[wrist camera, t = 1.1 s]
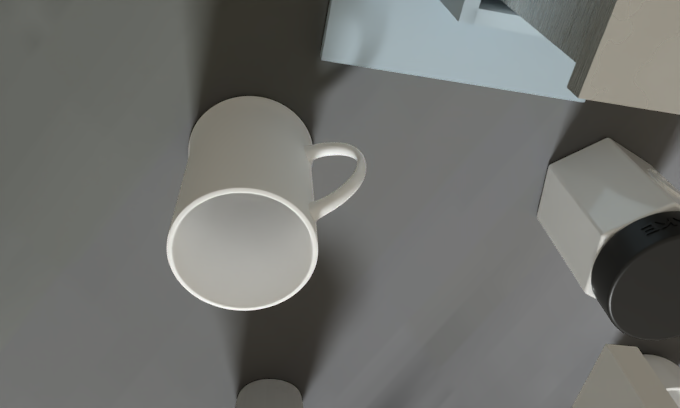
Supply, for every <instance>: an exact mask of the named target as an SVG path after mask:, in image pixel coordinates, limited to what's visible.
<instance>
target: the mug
mask: <svg viewBox="0 0 680 408" xmlns="http://www.w3.org/2000/svg"><path fill="white" fill-rule="evenodd" d="M188 155H189V158H188V162H187V166H186V169H185V173H184V177H183V181H182V184H181V188H180V192H179V196H178V199H177V203H176V207H175V211H174V214H173V218H172V222H171V226H170V229H169V233H168V238H167V257H168V261H169V264H170V267H171V269H172V271H173V273H174V275H175V277H176V278H177V280H178V281H179V282H180V283H181V284H182V286H183V287H184V288H185V289H186V290H188V291H189V292H190V293H191V294H193V295H194V296H196V297H197V298H199V299H200V300H202V301H204V302H206V303H209V304H211V305H214V306H217V307H220V308H225V309H230V310H241V311H247V310H258V309H263V308H267V307H271V306H274V305H277V304H279V303H281V302H283V301H285V300H287V299H289V298H290V297H292V296H293V295H295V294H296V293H297V292H298V291H299V290H300V289H301V288H302V287H303V286H304V285H305V284H306V283H307V281H308V280H309V279H310V277H311V275H312V273H313V271H314V269H315V266H316V263H317V258H318V237H317V226H316V221H317V220H318V219H319V218H321V217H322V216H324V215H326V214H328V213H329V212H331V211H333V210H334V209H336V208H337V207H339V206H340V205H341V204H343V203H344V202H345V201H347V200H348V199H349V198H350V197H351V196H352V195H353V194H354V193H355V192H356V191H357V189H358V188H359V187H360V185H361V184H362V182H363V180H364V178H365V175H366V161H365V158H364V156H363V154H362V153H361V151H360V150H359V149H357V148H356V147H354V146H353V145H350V144H347V143H341V142H327V143H320V144H314V145H313V144H312V140H311V137H310V134H309V132H308V130H307V128H306V126H305V125H304V123H303V122H302V120H301V119H300V118H299V117H298V116H297V115H296V114H295V113H294V112H293V111H291V110H290V109H289V108H287V107H286V106H284V105H282V104H281V103H279V102H276V101H274V100H271V99H268V98H264V97H258V96H241V97H235V98H231V99H227V100H225V101H222V102H220V103H218V104H216V105H215V106H213V107H212V108H210V109H209V110H208V111H206V112H205V113H204V114H203V115H202V116H201V118H200V119H199V120H198V122H197V123H196V125H195V126H194V128H193V131H192V133H191V136H190V140H189V146H188ZM329 155H345V156H349V157H352V158H354V159H355V160H357V167H356V169H355V171H354V173H353V174H352V176H351V177H350V178H349V179H348V180H347V181H346V182H345V183H344V184H343V185H342V186H341V187H339V188H338V189H337V190H335V191H334V192H332V193H331V194H329V195H327V196H326V197H324V198H322V199H319V200H316V201H314V193H313V182H312V170H311V168H312V164H313V160H314V159H317V158H319V157H323V156H329Z"/></svg>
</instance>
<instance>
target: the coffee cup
mask: <svg viewBox="0 0 680 408" xmlns="http://www.w3.org/2000/svg"><path fill="white" fill-rule="evenodd" d="M235 408H303V403H302V397H301V394H300V392H299V390H298V389H297V388H296V387H295V386H293V385H292V384H290V383H288V382H286V381H282V380H277V379H262V380H257V381H254V382H251V383H249V384H248V385H246V386H245V387H244V388H243V389H242V390H241V391H240V393H239V395H238V398H237V401H236V406H235Z"/></svg>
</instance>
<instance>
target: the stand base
mask: <svg viewBox="0 0 680 408" xmlns="http://www.w3.org/2000/svg"><path fill="white" fill-rule="evenodd" d="M320 56H321V60H323V61H329V62H336V63H342V64H348V65H354V66H360V67H367V68H373V69H379V70H385V71H391V72H398V73H404V74H410V75H416V76H422V77H429V78H435V79H441V80H447V81H453V82H460V83H466V84H472V85H478V86H485V87H491V88H497V89H503V90H509V91H516V92H522V93H528V94H534V95H540V96H547V97H553V98H559V99H565V100H571V101H578V102H584V103H585V100H586V99H580V98H577V97H576V96H575V95H574V94H573V93H572V92H571V91H570V90H569V89H568V88H567V85H568V82H569V80H570V77H571V74H572V72H573V69H574V67H575V64H576V62H575V61H573V60H572V59H571V58H570V57H569V56H567V55H566V54H565V53H564V52H563V51H561V50H560V49H559V48H558V47H557V46H555V45H554V44H553V43H552V42H550V41H549V40H548V39H547V38H546V37H544V36H543V35H542V34H541V33H540V32H538V31H537V30H536V29H535V28H534V27H532V26H531V25H530V24H529V23H528V22H526V21H525V20H524V19H523V18H522V17H520V16H519V15H518V14H517V13H515V12H514V11H513V10H512V9H511V8H509V7H508V6H507V5H506V4H505V3H503V2H502V1H501V0H330V2H329V8H328V14H327V19H326V25H325V30H324V36H323V41H322V47H321V52H320Z"/></svg>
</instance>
